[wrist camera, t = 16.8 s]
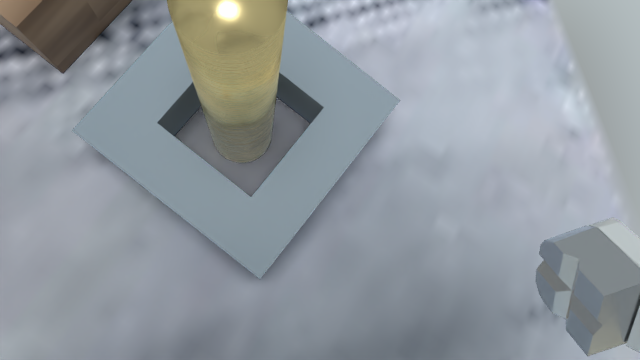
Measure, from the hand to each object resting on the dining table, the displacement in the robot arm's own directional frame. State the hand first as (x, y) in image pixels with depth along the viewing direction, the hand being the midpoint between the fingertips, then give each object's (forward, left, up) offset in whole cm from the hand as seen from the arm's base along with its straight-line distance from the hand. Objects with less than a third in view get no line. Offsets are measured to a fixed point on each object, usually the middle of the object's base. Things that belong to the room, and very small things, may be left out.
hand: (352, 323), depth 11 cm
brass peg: (-7, +5, -19) cm, 21 cm away
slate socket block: (-7, +5, -19) cm, 21 cm away
